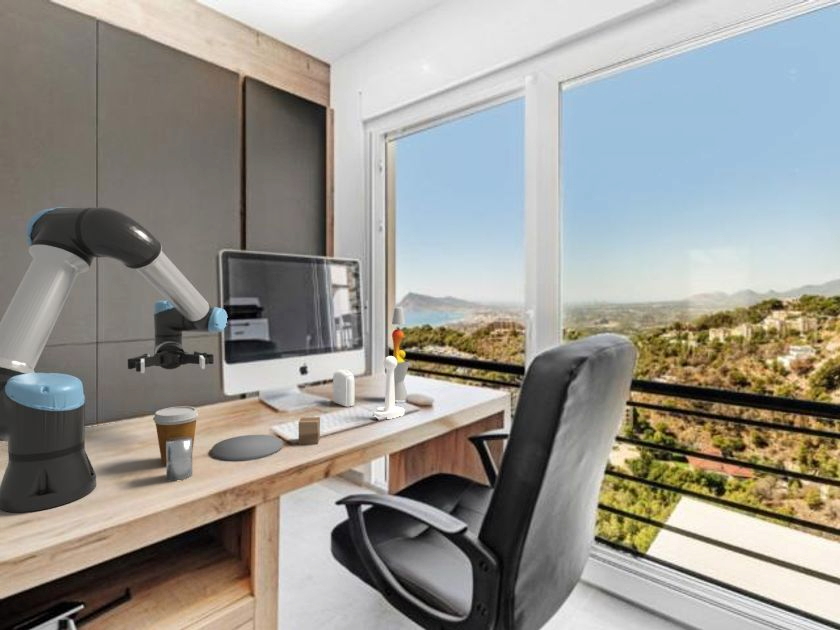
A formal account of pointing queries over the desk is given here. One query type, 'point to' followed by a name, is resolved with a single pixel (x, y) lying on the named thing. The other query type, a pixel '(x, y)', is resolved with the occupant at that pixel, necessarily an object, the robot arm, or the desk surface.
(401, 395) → the lava lamp
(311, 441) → the walnut block
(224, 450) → the round gray coaster
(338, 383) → the photo printer
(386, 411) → the joystick
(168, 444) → the chrome cylinder
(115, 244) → the robot arm
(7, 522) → the desk surface
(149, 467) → the desk surface
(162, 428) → the disposable coffee cup
